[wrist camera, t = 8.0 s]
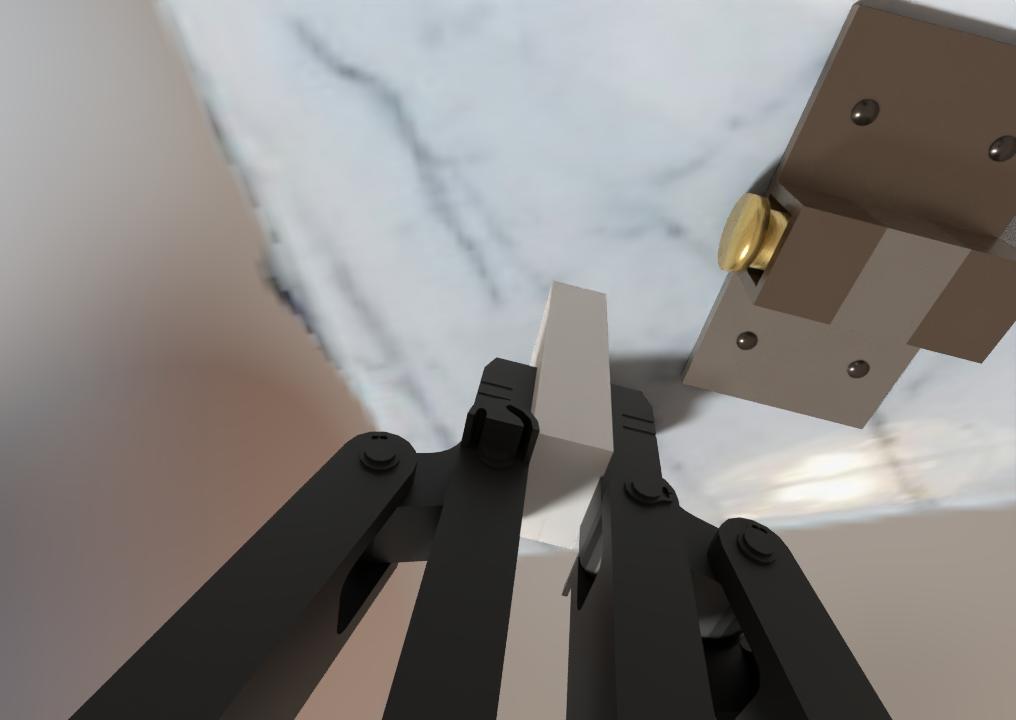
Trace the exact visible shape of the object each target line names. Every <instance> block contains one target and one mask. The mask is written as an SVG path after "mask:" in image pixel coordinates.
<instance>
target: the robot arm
mask: <svg viewBox="0 0 1016 720" xmlns="http://www.w3.org/2000/svg"><path fill="white" fill-rule="evenodd" d="M653 423H654V418H653V411H652V406H651V405H650V403H649V402H648V401H647V399H646V398H645V396H644V395H643V393H642V392H640V391H636V390H632V389H628V388H624V387H620V386H616V385H612V384H610V367H609V346H608V324H607V303H606V294H604V293H600V292H596V291H592V290H588V289H584V288H580V287H576V286H572V285H568V284H564V283H560V282H556V281H553V282H552V286H551V290H550V293H549V297H548V300H547V304H546V307H545V311H544V315H543V318H542V322H541V325H540V329H539V332H538V336H537V340H536V343H535V347H534V350H533V354H532V357H531V361H530V366H529V365H525V364H521V363H517V362H513V361H509V360H505V359H501V358H495V359H494V360H493V361H492V362H490V363H489V364H488V365H487V366H486V367H485V368H484V371H483V375H482V378H481V382H480V385H479V389H478V392H477V396H476V399H475V403H474V405H473V406H472V407H471V409H470V410H469V412H468V414H467V419H466V423H465V428H464V432H463V437H462V441H461V442H460V443H459V444H458V445H456V446H454V447H453V448H451V449H449V450H445V451H442V452H436V453H416V451H415V450H414V448H413V447H412V445H411V444H410V443H409V442H408V441H406V440H405V439H403V438H402V437H400V436H398V435H395V434H391V433H387V432H368V433H364V434H361V435H357V436H356V437H354V438H353V439H351V440H350V441H348V442H347V443H346V444H345V445H344V446H343V447H342V448H341V449H340V450H339V451H338V452H337V453H336V454H335V455H334V456H333V457H332V458H331V459H330V460H329V461H328V462H327V463H326V464H325V465H324V466H323V467H322V468H321V469H320V470H319V471H318V472H317V473H316V474H315V475H314V476H313V477H312V478H311V479H309V481H308V482H307V483H305V484H304V485H303V487H301V488H300V489H299V490H298V491H297V492H296V493H295V494H294V495H293V496H292V497H291V499H289V500H288V501H287V502H286V503H285V504H284V505H283V506H282V508H280V509H279V510H278V511H277V512H276V513H275V514H274V515H273V517H271V518H270V520H268V521H267V522H266V523H265V524H264V525H263V526H262V527H261V529H259V530H258V531H257V532H256V533H255V534H254V535H253V536H252V537H251V538H250V539H249V540H248V541H247V542H246V543H245V544H244V545H243V546H242V547H241V548H240V549H239V550H238V551H237V552H236V553H235V554H234V555H233V556H232V557H231V558H230V559H229V560H228V561H227V562H226V563H225V564H224V565H223V566H222V567H221V568H220V569H219V570H218V571H217V572H216V573H215V574H214V575H213V576H212V577H211V578H210V579H209V580H208V581H207V582H206V583H205V584H204V585H203V586H202V587H201V588H200V589H199V590H198V591H197V592H196V593H195V594H194V595H193V596H192V597H191V598H190V599H189V600H188V601H187V602H186V603H185V604H184V605H183V606H182V607H181V608H180V609H179V610H178V611H177V612H176V613H175V614H174V615H173V616H172V617H171V618H170V619H169V620H168V621H167V622H166V623H165V624H164V625H163V626H162V627H161V628H160V629H159V630H158V631H157V632H156V633H155V634H154V635H153V636H152V637H151V638H150V639H149V640H148V641H147V642H146V643H145V644H144V645H143V646H142V647H141V648H140V649H139V650H138V651H137V652H136V653H135V654H134V655H133V656H132V657H131V658H130V659H129V660H128V661H127V662H126V663H125V664H124V665H123V666H122V667H121V668H120V669H119V670H118V671H117V672H116V673H115V674H114V675H113V676H112V677H111V678H110V679H109V680H108V681H107V682H106V683H105V684H104V685H103V686H102V687H101V688H100V689H99V690H98V691H97V692H96V693H95V694H94V695H93V696H92V697H91V698H89V700H87V701H86V702H85V703H84V705H83V706H81V707H80V709H78V710H77V711H76V712H75V713H74V715H72V716H71V718H69V719H68V720H294V719H295V717H296V716H297V714H298V713H299V711H300V710H301V709H302V707H303V706H304V704H305V703H306V701H307V700H308V698H309V697H310V695H311V694H312V692H313V691H314V689H315V688H316V686H317V685H318V683H319V682H320V680H321V679H322V677H323V676H324V674H325V673H326V671H327V670H328V668H329V667H330V665H331V664H332V662H333V661H334V660H335V658H336V657H337V655H338V654H339V652H340V651H341V649H342V647H343V646H344V645H345V643H346V642H347V640H348V639H349V637H350V636H351V634H352V633H353V631H354V630H355V628H356V627H357V625H358V624H359V622H360V621H361V619H362V618H363V617H364V615H365V614H366V612H367V611H368V609H369V607H370V606H371V605H372V603H373V602H374V600H375V599H376V597H377V596H378V594H379V593H380V591H381V590H382V588H383V587H384V585H385V584H386V582H387V581H388V579H389V578H390V576H391V575H392V574H393V572H394V570H395V569H396V568H397V565H398V563H399V562H413V561H427V564H426V568H425V571H424V575H423V579H422V582H421V585H420V589H419V593H418V596H417V599H416V603H415V606H414V610H413V613H412V617H411V620H410V624H409V627H408V631H407V634H406V638H405V641H404V645H403V648H402V652H401V655H400V659H399V662H398V665H397V669H396V672H395V676H394V679H393V683H392V686H391V690H390V693H389V697H388V701H387V704H386V707H385V711H384V714H383V718H382V720H496V717H497V709H498V702H499V694H500V686H501V678H502V671H503V663H504V655H505V648H506V640H507V632H508V624H509V617H510V609H511V601H512V594H513V586H514V578H515V570H516V563H517V555H518V547H519V540H520V537H524V538H528V539H532V540H536V541H540V542H545V543H549V544H553V545H557V546H561V547H565V548H569V549H573V548H574V545H575V543H576V540H577V538H578V536H579V533H580V540H579V553H578V555H577V558H576V560H575V562H574V565H573V567H572V569H571V572H570V574H569V577H568V579H567V582H566V583H565V586H564V589H563V593H562V595H563V596H568V593H569V591H570V589H571V606H570V633H569V658H568V684H567V686H568V687H567V710H566V711H567V712H566V720H892V718H891V717H890V715H889V714H888V712H887V710H886V708H885V707H884V705H883V704H882V702H881V700H880V699H879V697H878V695H877V694H876V692H875V691H874V689H873V687H872V685H871V684H870V682H869V681H868V679H867V677H866V675H865V674H864V672H863V671H862V669H861V667H860V666H859V664H858V662H857V661H856V659H855V657H854V656H853V654H852V652H851V651H850V649H849V647H848V646H847V644H846V642H845V641H844V639H843V638H842V636H841V634H840V633H839V631H838V629H837V628H836V626H835V624H834V623H833V621H832V619H831V618H830V616H829V614H828V613H827V611H826V609H825V608H824V606H823V605H822V603H821V601H820V600H819V598H818V596H817V595H816V593H815V591H814V590H813V588H812V586H811V585H810V583H809V581H808V580H807V578H806V576H805V575H804V573H803V571H802V570H801V568H800V566H799V565H798V563H797V562H796V560H795V559H794V557H793V555H792V553H791V552H790V550H789V549H788V547H787V546H786V545H785V544H784V542H783V541H782V540H781V539H780V537H779V536H777V535H776V534H775V533H774V532H772V531H771V530H770V529H769V528H767V527H766V526H764V525H761V524H759V523H757V522H755V521H753V520H749V519H744V518H740V517H739V518H731V519H728V520H726V521H725V522H724V523H723V524H721V526H720V527H719V528H717V527H715V526H713V525H711V524H709V523H707V522H705V521H703V520H701V519H699V518H697V517H695V516H693V515H692V514H690V513H688V512H687V511H685V510H684V509H683V508H681V507H680V506H679V501H678V498H677V496H676V493H675V491H674V489H673V488H672V487H671V486H670V485H669V483H668V482H667V481H666V480H665V479H663V478H662V473H661V466H660V459H659V453H658V446H657V439H656V437H655V434H656V432H655V425H654V424H653Z"/></svg>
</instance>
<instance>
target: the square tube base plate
mask: <svg viewBox="0 0 1016 720" xmlns="http://www.w3.org/2000/svg"><path fill="white" fill-rule="evenodd" d="M764 197H766V198H768V200H769V202H770V209H772V210H775V211H779V212H783V213H787V214H790V215H791V218H790V220H789V222H788V224H787V226H786V228H785V230H784V232H783V234H782V236H781V238H780V240H779V242H778V244H777V246H776V248H775V250H774V252H773V254H772V256H771V258H770V260H769V262H768V264H767V266H766V268H765V270H761V269H757V268H753V267H748V268H747V269H746V270H745V271H744V272H743V273H740V274H737V273H733V272H729V273H728V275H727V277H726V280H725V282H724V284H723V286H722V288H721V290H720V293H719V295H718V297H717V299H716V301H715V303H714V305H713V308H712V310H711V312H710V314H709V316H708V318H707V321H706V323H705V325H704V327H703V329H702V331H701V333H700V336H699V338H698V340H697V342H696V344H695V346H694V349H693V351H692V353H691V355H690V357H689V359H688V362H687V364H686V366H685V368H684V370H683V372H682V374H681V381H682V384H686V385H690V386H694V387H698V388H702V389H706V390H710V391H714V392H717V393H721V394H725V395H729V396H733V397H737V398H741V399H745V400H749V401H753V402H757V403H761V404H765V405H769V406H773V407H777V408H781V409H785V410H788V411H792V412H796V413H800V414H804V415H808V416H812V417H816V418H820V419H824V420H828V421H832V422H836V423H840V424H844V425H848V426H852V427H856V428H859V429H863V428H864V426H865V425H866V423H867V422H868V420H869V419H870V418H871V416H872V415H873V413H874V412H875V411H876V409H877V408H878V406H879V405H880V404H881V402H882V401H883V399H884V398H885V397H886V395H887V394H888V392H889V391H890V390H891V388H892V387H893V385H894V384H895V383H896V381H897V380H898V378H899V377H900V376H901V374H902V373H903V371H904V370H905V369H906V367H907V366H908V364H909V363H910V362H911V360H912V359H913V357H914V356H915V354H916V353H917V352H918V350H919V349H920V348H923V349H927V350H930V351H934V352H938V353H942V354H946V355H950V356H954V357H958V358H962V359H966V360H969V361H973V362H977V363H981V364H982V363H983V361H984V360H985V359H986V358H987V356H988V355H989V354H990V353H991V351H992V350H993V349H994V347H995V346H996V345H997V344H998V342H999V341H1000V340H1001V339H1002V337H1003V336H1004V335H1005V334H1006V332H1007V331H1008V330H1009V329H1010V327H1011V326H1012V325H1013V324H1014V322H1015V321H1016V248H1014V247H1012V246H1011V245H1009V244H1007V243H1006V242H1004V241H1002V240H1000V239H999V237H1000V235H1001V234H1002V232H1003V231H1004V229H1005V228H1006V227H1007V225H1008V224H1009V222H1010V221H1011V220H1012V218H1013V217H1014V215H1015V214H1016V46H1013V45H1009V44H1005V43H1002V42H998V41H994V40H990V39H986V38H983V37H979V36H975V35H971V34H968V33H964V32H960V31H956V30H953V29H949V28H945V27H941V26H937V25H934V24H930V23H926V22H922V21H919V20H915V19H911V18H907V17H904V16H900V15H896V14H892V13H888V12H885V11H881V10H877V9H873V8H870V7H866V6H862V5H853V6H852V8H851V10H850V12H849V14H848V17H847V19H846V21H845V23H844V25H843V27H842V29H841V32H840V34H839V36H838V38H837V40H836V42H835V45H834V47H833V49H832V51H831V53H830V55H829V58H828V60H827V62H826V64H825V66H824V68H823V70H822V73H821V75H820V77H819V79H818V81H817V83H816V86H815V88H814V90H813V92H812V94H811V96H810V98H809V101H808V103H807V105H806V107H805V109H804V111H803V114H802V116H801V118H800V120H799V122H798V124H797V127H796V129H795V131H794V133H793V135H792V137H791V139H790V142H789V144H788V146H787V148H786V150H785V152H784V155H783V157H782V159H781V161H780V163H779V165H778V167H777V170H776V172H775V174H774V176H773V178H772V180H771V183H770V185H769V187H768V189H767V191H766V193H765V196H764Z"/></svg>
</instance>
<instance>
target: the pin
mask: <svg viewBox="0 0 1016 720" xmlns="http://www.w3.org/2000/svg"><path fill="white" fill-rule="evenodd" d="M790 218H791V215H790V214H787V213H783V212H779V211H775V210H772V209H770V202H769V200H768V198H766V197H763V196H759V195H755V194H752V193H747V194H745V195H743V196H742V197H741V198H740V199H739V201H738V202H737V203H736V205H735V206H734V208H733V210H732V212H731V214H730V215H729V218H728V220H727V222H726V225H725V227H724V230H723V233H722V237H721V240H720V245H719V251H718V264H719V267H720V269H722V270H725V271H729V272H733V273H737V274H740V273H743V272H744V271H745V270H746V269H747V268H748V267H753V268H757V269H761V270H765V268H766V266H767V264H768V262H769V260H770V258H771V256H772V254H773V252H774V250H775V248H776V246H777V244H778V242H779V240H780V238H781V236H782V234H783V232H784V230H785V228H786V226H787V224H788V222H789V220H790Z"/></svg>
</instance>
